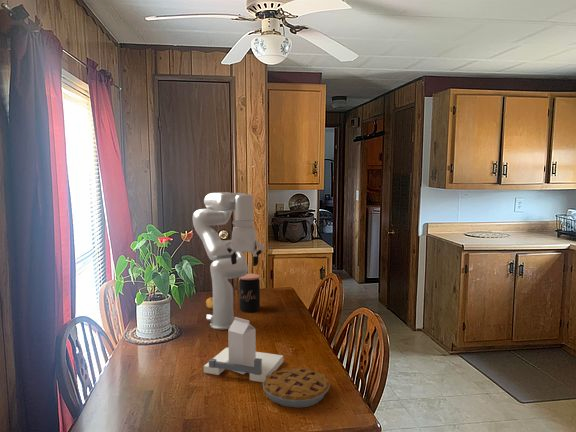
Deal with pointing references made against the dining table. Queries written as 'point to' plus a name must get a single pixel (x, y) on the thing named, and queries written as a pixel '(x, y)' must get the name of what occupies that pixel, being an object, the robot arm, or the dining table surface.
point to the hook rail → (238, 366)
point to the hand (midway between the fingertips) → (244, 264)
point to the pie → (296, 387)
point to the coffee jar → (249, 293)
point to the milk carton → (242, 343)
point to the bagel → (209, 303)
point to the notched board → (268, 366)
